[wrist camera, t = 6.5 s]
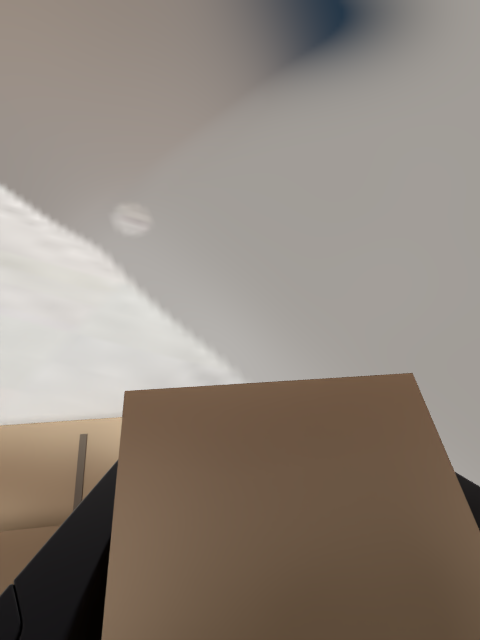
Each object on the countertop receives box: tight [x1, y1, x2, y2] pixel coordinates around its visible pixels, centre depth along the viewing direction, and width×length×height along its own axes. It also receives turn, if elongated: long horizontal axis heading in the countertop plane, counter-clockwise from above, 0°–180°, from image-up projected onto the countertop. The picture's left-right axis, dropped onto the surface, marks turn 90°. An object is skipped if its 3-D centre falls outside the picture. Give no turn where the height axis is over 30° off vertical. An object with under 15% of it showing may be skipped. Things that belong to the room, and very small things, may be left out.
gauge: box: [0, 373, 480, 640], centre depth 8 cm, size 4×15×10 cm, turn 95°
